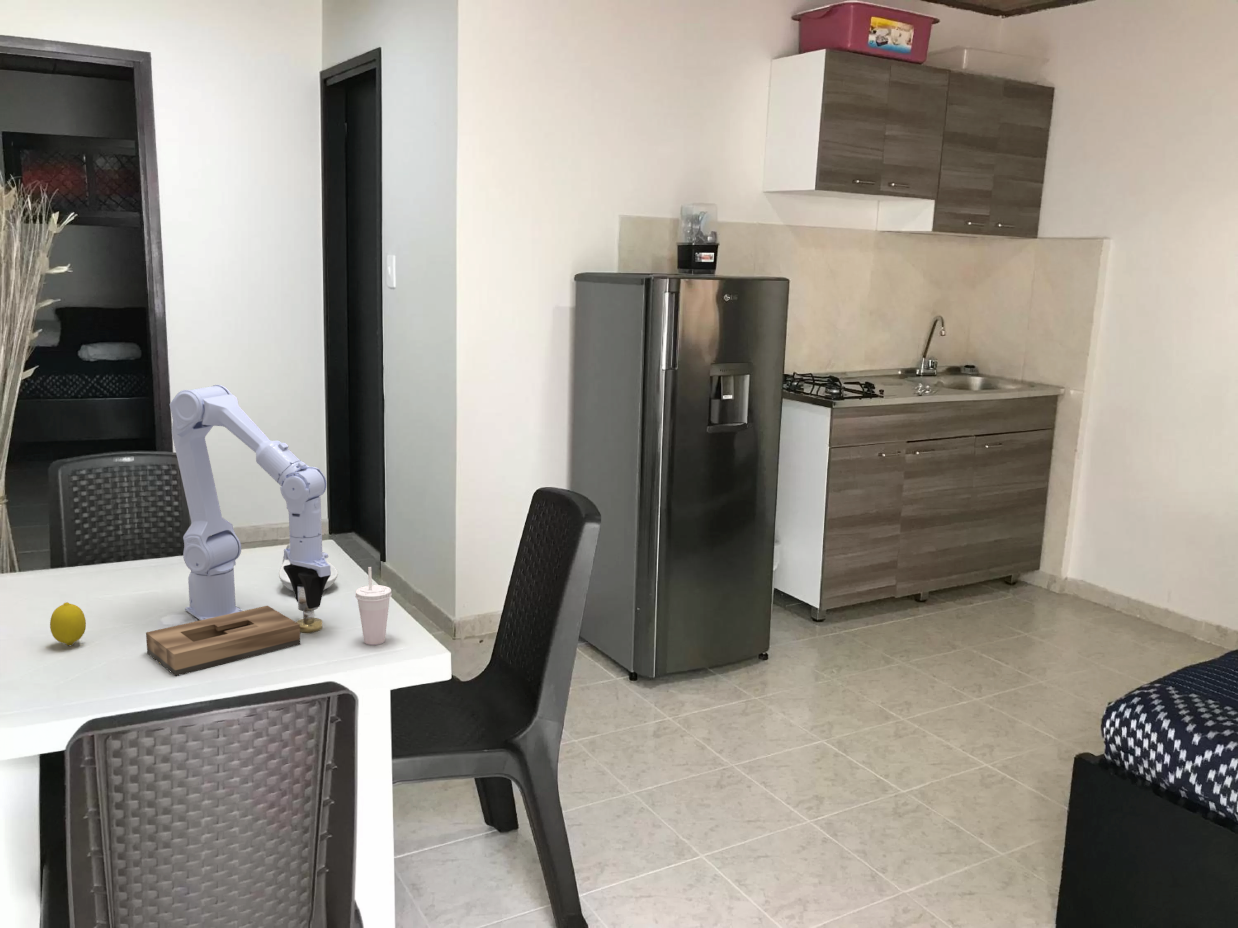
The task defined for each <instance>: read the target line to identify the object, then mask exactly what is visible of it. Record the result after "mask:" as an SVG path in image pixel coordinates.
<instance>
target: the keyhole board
mask: <svg viewBox="0 0 1238 928" xmlns="http://www.w3.org/2000/svg"><path fill="white" fill-rule="evenodd" d="M296 622H297V621H295V620H293V619H291V618H290V617H288V616H286V615H285V614H283V613H282V612H279V611H277V610H276V609H274V608H273V607H270V606H269V605H264V606H259V607H256V608H250V609H246V610H243V611H240V612H236V613H231V614H227V615H222V616H218V617H213V618H209V619H204V620H196V621H192V622H187V623H182V624H178V625H174V626H168V627H164V628H160V629H156V630H151V631H147V632H145V639H146V651H147V652H146V653H147V654H148V655H149V656H150V655H151V656H150V657H151V658H153V657H154V658H155V659H156V660H157V663H159V662H160V663H161V664H162V665H161V664H160V663H159V664H160V665H161V666H163V667H164V668H165V667H166V668H167V669H166V668H165V669H166V670H167V671H169V670H170V671H171V672H172V673H173V674H172V673H171V672H170V671H169V672H170V673H171V674H172V675H173V676H175V675H178V676H180V675H179V674H182V675H184V674H185V673H186V674H189V672H190V673H193V672H197V671H200V670H204V669H209V668H212V667H217V666H219V665H220V666H221V665H225V664H228V663H232V662H236V661H239V660H244V659H247V658H251V657H252V658H253V657H255V656H260V655H265V654H268V653H272V652H275V651H280V650H283V649H286V648H291V647H296V646H299V645H301V632H300V624H298V623H296ZM154 658H153V659H154ZM155 659H154V660H155ZM156 660H155V661H156ZM186 674H185V675H186Z"/></svg>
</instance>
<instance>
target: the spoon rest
mask: <svg viewBox="0 0 1238 928" xmlns="http://www.w3.org/2000/svg"><path fill="white" fill-rule="evenodd" d="M288 548H290V543H288V544H287V546H286V548H285V549H288ZM325 560H326V562H327V563H328V564H329V565H330V569H331V576H330V577H329V579H328V580H327V583H326V585H325V587H324V591H325V590H327V589H328V588H330V587H331V586H332V585H333V584H334V583H335V582H336V581H337V578H338V575H339V572H338V569H336V567H335V566H334V565H333V564H332V563H330V562H329V561H328V560H327V559H325ZM286 565H290V562H289V560H286V559H284V555H283V557H282V563H281V567H280V568H279V572H278V577H279V580H280V582H281V584H282V585H283V586H284V587H286V588H287V589H288V590H290V591H291V592H294V591H293V587H292V584H291V582H290V579H289V577H288V575H287V574H286V572H285V571H284V568H283V567H284V566H286Z"/></svg>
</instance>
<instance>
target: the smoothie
mask: <svg viewBox="0 0 1238 928" xmlns="http://www.w3.org/2000/svg"><path fill="white" fill-rule="evenodd" d="M367 568H368V569H367V570H368V571H367V572H368V576H367V577H368V578H367V579H368V585H366V586H365V585H364V586H362V587H358V588H357V589H356V590H355V598H356V599H357V603H358V605H357V606H358V610H359V616H360V617H359V618H360V624H361V629H362V637H363V642H364V644H366V645H369V646H375V645H377V646H378V645H382V644H383V643H385V642H386V634H387V627H388V626H387V625H388V619H389V618H388V615H389V607H390V598H391V597H392V589H391V587H389V586H385V585H380V584H374V585H373V584H372V582H373V579H372V577H373V576H372V575H373V574H372V566H368V567H367Z"/></svg>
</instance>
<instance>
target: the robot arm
mask: <svg viewBox="0 0 1238 928" xmlns="http://www.w3.org/2000/svg"><path fill="white" fill-rule="evenodd" d="M238 400H239V399H238V397H237V396H236V395H234V394H233V393H231V391H230V390H229V389H228V388H227V387H226V386H224V385H221V384H215V385H211V386H205V387H198V388H195V389H183V390H180V391H178V393H177V394H176V395H175V396H174V397H173V399H172V400H171V402H170V403H169V408H170V413H171V416H172V425H171V435H172V441H173V445H174V450H175V455H176V457H177V458H176V459H177V463H178V468H179V471H180V476H181V482H182V486H183V490H184V494H185V495H184V496H185V499H186V504H187V508H188V509H187V510H188V513H189V518H190V521H191V522H190V523H191V524H190V525H189V527H188V528H187V530H186V531H185V533H184V534H183V536H182V539H183V543H184V544H183V545H184V546H183V547H184V548H183V552H182V553H183V554H182V555H183V556H182V557H183V561H184V564H185V566H186V567H187V568H188V569H189V570H190V572H189V575H188V578H187V581H188V583H187V584H188V598H189V601H188V602H189V606H185V608H184V611H186V612H188V613H189V614H191V616H193V617H195V618H197V619H198V621H200V620H204V619H209V618H213V617H218V616H222V615H227V614H231V613H236V612H240V611H244V610H243V609H241V608H239V607H237V606H236V589H235V588H236V587H235V584H236V583H235V566H236V564H237V563H236V561H237V560H238V559H239V557H240V556H241V555H242V554H241V553H242V543H241V541H240V539H239V537H238V536H237V535H236V533H235V530H234V529H235V528H234V525H233V523H231V522H230V521H229V520H227V519H225V518H224V517H223V516H222V511H221V506H220V501H219V497H218V493H217V488H216V484H215V478H214V474H213V470H212V465H211V461H210V456H209V452H208V451H209V450H208V446H207V442H206V436H207V435H208V433H210V432H211V429H212V428H213V427H223V428H226V430H227V431H229V433H231V434H232V435H234V436H235V437H236V438H237V439H238V440H239V441H241V442H242V443H243V444H244V445H246V446H247V447H248V448H250V449H251V450H252V452H253V453H255V462H256V464H257V465H258V466H260V467H261V469H263V470H264V471H265V473H267V474H268V475H269V476H270V477H271V478H272V479H273V480H274V481H275V482H276V483H277V484H278V485H279V486H280V487H279V489H280V493H281V496H282V498H283V499H284V500H285V502H286V509H287V511H288V529H289V530H288V531H289V533H288V534H289V544H290V548H288V549H286V548H284V549H283V556H284V559H286V560H289V562H290V565H286V566H284V567H283V568H284V571H285V572H286V574H287V575H288V577H289V579H290V582H291V584H292V587H293V591H292V592H293V594H294V597H295V600H296V603H298V587H297V586H298V585H299V584H303V587H304V591H305V597H306V603H307V606H308V608H309V609H312V608H316V607H318V608H320V607H321V603H322V598H323V594H324V591H325V590H324V587H325V585H326V583H327V580H328V579H329V577H330V576H331V569H330V565H329V564H328V563H327V562H326V560H327V559H328V558H329V553H327V552H324V551H323V531H322V529H323V528H322V527H323V526H322V499H321V497H322V495H324V493H325V492H326V489H327V479H326V478H327V477H325V476H326V475H324V472H322V471H321V469H320V468H319V467H316V466H309V465H308V464H307V463H305V462H304V461H303V460H301V459H299V458H298V456H297V455H295V454H294V452H292V451H291V450H290V448H289V445H288V444H287V443H286V442H285V441H284V442H282V441H280V440H278V439H277V440H271V439H269V437H268V436H267V435H266V433H264V432H263V431H262V429H260V427H259V426H258V425H257V424H256V423H255V421H253V420H252V419H251V417H250V416H249V415H248V414H247V413H246V412H245V410H243V409H242V408H241V406H240V405H239V401H238Z"/></svg>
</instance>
